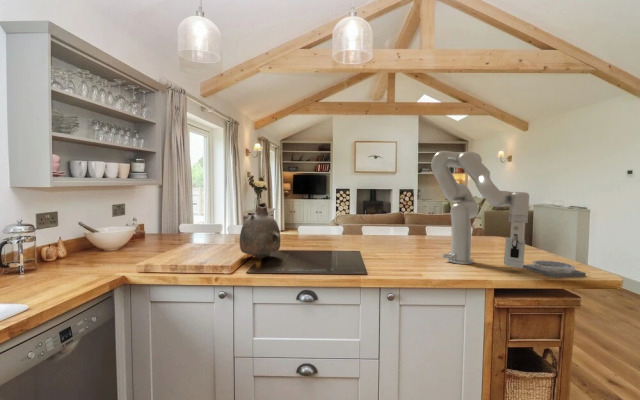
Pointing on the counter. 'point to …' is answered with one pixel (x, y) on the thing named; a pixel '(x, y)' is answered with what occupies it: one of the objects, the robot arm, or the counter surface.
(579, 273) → the charcoal board
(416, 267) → the counter surface
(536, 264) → the steel ring
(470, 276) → the counter surface
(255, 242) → the jug
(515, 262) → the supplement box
